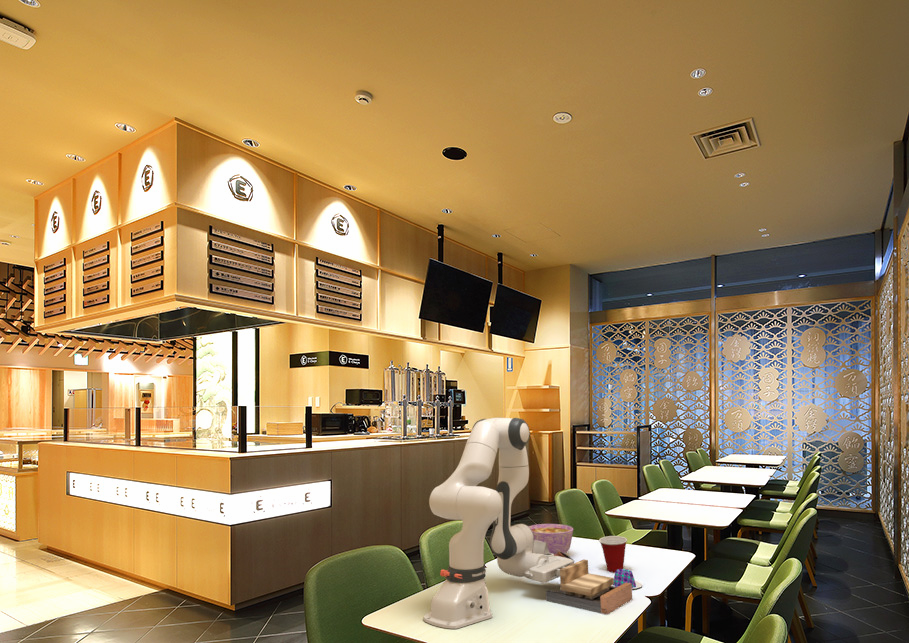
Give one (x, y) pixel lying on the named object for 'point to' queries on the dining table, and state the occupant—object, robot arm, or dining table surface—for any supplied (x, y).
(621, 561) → the plastic cup
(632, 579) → the pudding
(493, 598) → the dining table surface
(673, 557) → the dining table surface
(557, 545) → the bowl of food
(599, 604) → the track
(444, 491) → the robot arm
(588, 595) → the tan slatted block
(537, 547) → the tea bag
